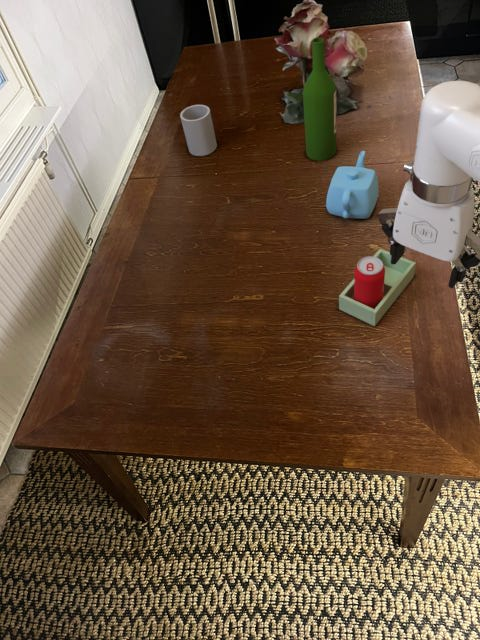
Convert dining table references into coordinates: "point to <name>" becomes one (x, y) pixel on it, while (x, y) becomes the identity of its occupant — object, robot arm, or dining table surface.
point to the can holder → (393, 286)
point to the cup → (198, 130)
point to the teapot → (353, 191)
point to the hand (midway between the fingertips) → (425, 270)
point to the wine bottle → (319, 108)
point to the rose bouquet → (339, 54)
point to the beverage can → (369, 281)
